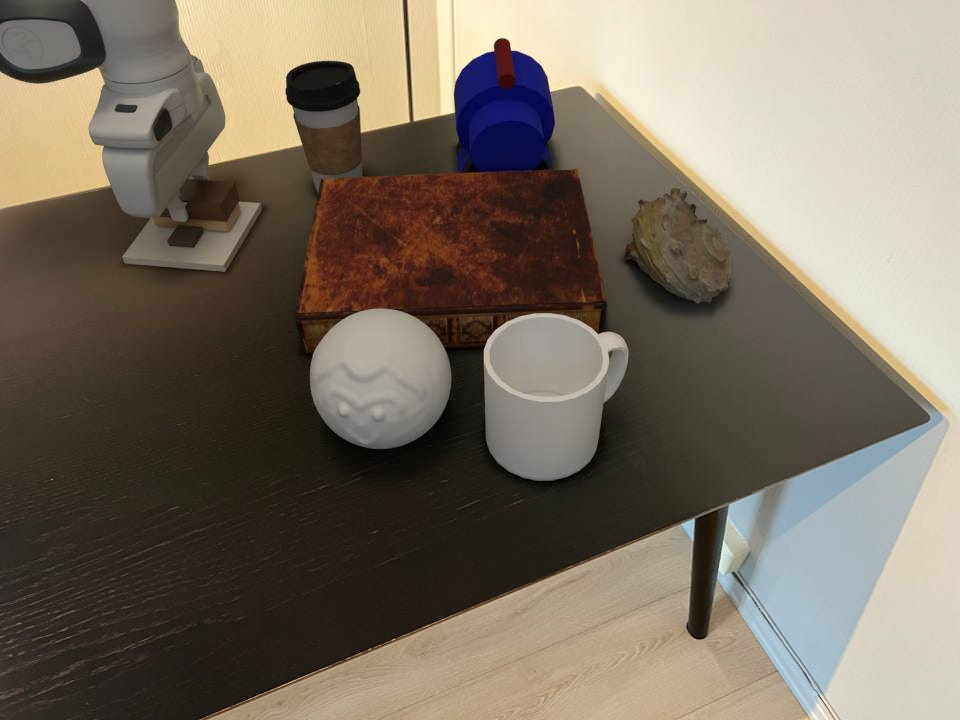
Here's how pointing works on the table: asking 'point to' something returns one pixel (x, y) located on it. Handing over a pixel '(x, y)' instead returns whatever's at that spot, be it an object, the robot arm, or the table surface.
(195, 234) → the dark brown square block
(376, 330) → the decorative ball
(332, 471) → the table surface
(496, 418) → the mug
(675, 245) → the seashell
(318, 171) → the coffee cup
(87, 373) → the table surface
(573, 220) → the book
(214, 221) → the brown rectangular block
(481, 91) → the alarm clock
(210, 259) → the tile
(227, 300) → the table surface
